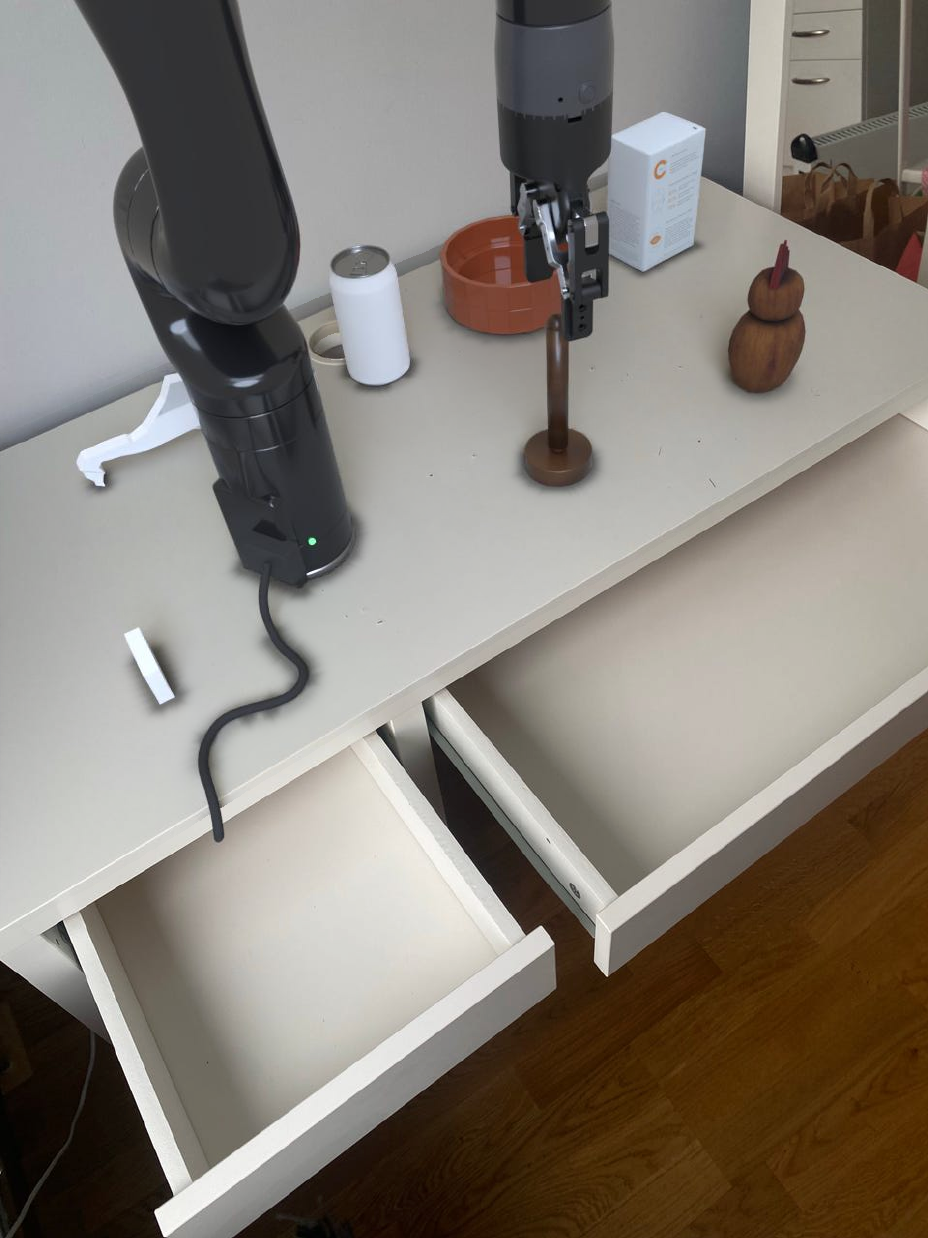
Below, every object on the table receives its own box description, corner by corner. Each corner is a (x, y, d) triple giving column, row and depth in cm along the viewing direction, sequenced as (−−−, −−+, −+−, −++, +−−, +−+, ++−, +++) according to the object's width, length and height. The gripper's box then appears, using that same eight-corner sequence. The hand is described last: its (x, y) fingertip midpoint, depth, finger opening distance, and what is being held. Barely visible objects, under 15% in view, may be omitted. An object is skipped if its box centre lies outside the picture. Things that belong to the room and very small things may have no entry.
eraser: (154, 655, 75) (138, 626, 72) (175, 697, 72) (159, 669, 69) (140, 662, 75) (123, 634, 72) (160, 704, 72) (143, 677, 69)
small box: (655, 225, 110) (664, 109, 100) (694, 246, 107) (708, 127, 96) (603, 252, 107) (607, 134, 97) (642, 273, 104) (650, 154, 94)
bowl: (541, 351, 96) (539, 298, 92) (422, 321, 101) (415, 270, 97) (597, 279, 104) (598, 228, 99) (483, 255, 109) (480, 205, 104)
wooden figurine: (761, 410, 88) (791, 261, 76) (712, 384, 91) (734, 237, 79) (806, 377, 90) (842, 228, 79) (757, 353, 93) (784, 206, 82)
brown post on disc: (574, 494, 83) (576, 344, 71) (513, 475, 85) (505, 327, 73) (602, 452, 86) (608, 302, 74) (542, 435, 88) (539, 287, 76)
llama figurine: (256, 464, 98) (75, 478, 88) (270, 364, 91) (75, 368, 81) (263, 473, 97) (80, 489, 87) (277, 373, 90) (81, 378, 80)
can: (414, 349, 98) (399, 241, 89) (406, 387, 94) (388, 278, 85) (354, 350, 99) (332, 243, 90) (343, 388, 95) (319, 280, 86)
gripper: (467, 56, 65) (484, 272, 77) (535, 143, 56) (542, 370, 68) (570, 34, 65) (570, 251, 78) (654, 115, 56) (639, 345, 69)
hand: (557, 306), depth 73 cm, fingers open, 8 cm apart
